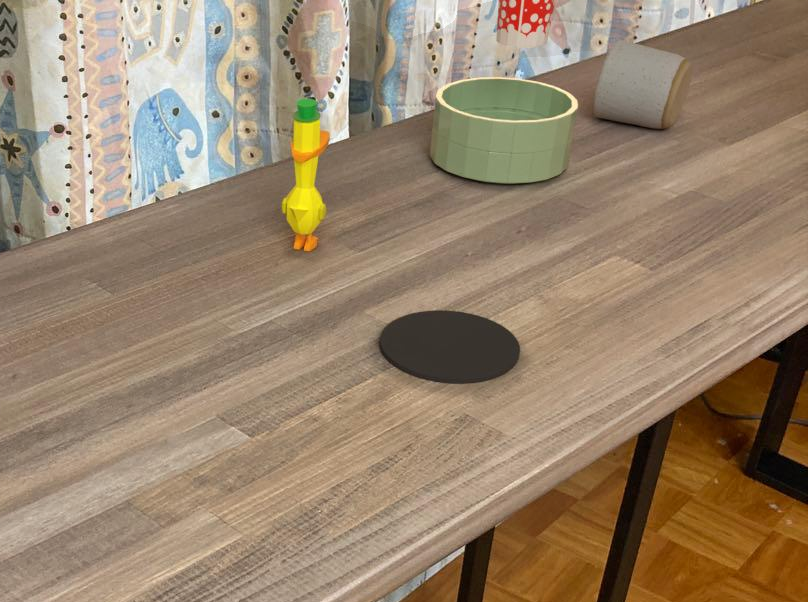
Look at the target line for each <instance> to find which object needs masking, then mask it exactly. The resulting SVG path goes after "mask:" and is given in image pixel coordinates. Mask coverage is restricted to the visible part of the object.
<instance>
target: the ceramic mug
mask: <svg viewBox="0 0 808 602" xmlns="http://www.w3.org/2000/svg"><path fill="white" fill-rule="evenodd" d="M692 76H693V66H692V62H691V61H690V60H689V59H688V58H686V57H684V56H682V55H680V54H678V53H674V52H670V51H666V50H661V49H657V48H654V47H650V46H647V45H642V44H639V43H635V42H631V41H627V40H624V39H619V40H616V41H615V42H614V43H613V44H612V46H611V47H610V49H609V50H608V52H607V54H606V55H605V58H604V62H603V63H602V66H601V68H600V71H599V75H598V78H597V81H596V82H597V83H596V87H595V91H594V96H593V104H592V111H593V115H594V116H595V117H596V118H598V119H603V120H609V121H614V122H618V123H623V124H630V125H634V126H639V127H643V128H649V129H654V130H655V129H657V130H658V129H659V130H663V129H668V128H670V127H671V126H673V125H674V123H675V122H676V121H677V119H678V118H679V115H680V113H681V111H682V109H683V106H684V104H685V101H686V98H687V95H688V92H689V89H690V86H691V82H692V81H691V80H692Z"/></svg>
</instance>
